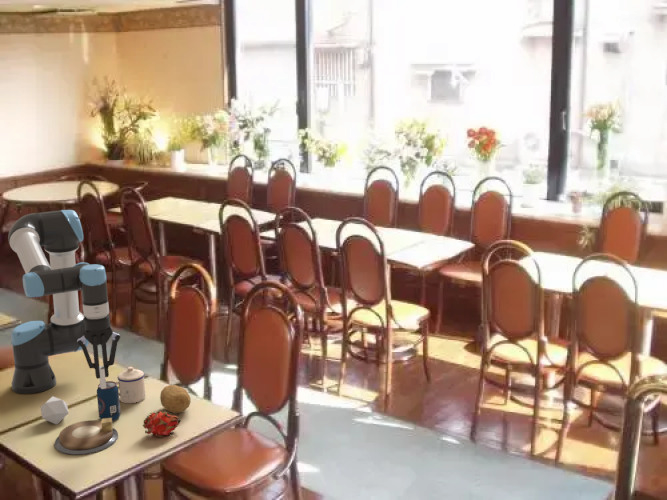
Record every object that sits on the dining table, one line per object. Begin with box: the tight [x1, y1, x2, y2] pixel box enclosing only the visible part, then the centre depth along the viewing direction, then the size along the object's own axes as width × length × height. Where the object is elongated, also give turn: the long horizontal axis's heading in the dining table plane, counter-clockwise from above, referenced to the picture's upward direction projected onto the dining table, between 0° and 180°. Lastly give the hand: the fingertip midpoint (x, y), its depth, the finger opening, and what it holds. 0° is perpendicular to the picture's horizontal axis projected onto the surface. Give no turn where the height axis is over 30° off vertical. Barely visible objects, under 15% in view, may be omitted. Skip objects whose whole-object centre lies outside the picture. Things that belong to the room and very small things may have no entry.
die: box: [40, 395, 69, 425], centre depth 266 cm, size 8×9×10 cm
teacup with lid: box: [114, 366, 146, 404], centre depth 281 cm, size 12×9×12 cm
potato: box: [159, 384, 191, 414], centre depth 272 cm, size 10×14×8 cm
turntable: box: [58, 418, 114, 450], centre depth 253 cm, size 16×16×5 cm
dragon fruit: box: [142, 410, 181, 439], centre depth 255 cm, size 8×8×12 cm
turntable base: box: [54, 427, 119, 456], centre depth 253 cm, size 19×19×1 cm
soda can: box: [96, 380, 122, 422], centre depth 267 cm, size 7×7×12 cm
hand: (103, 386), depth 253 cm, fingers closed
